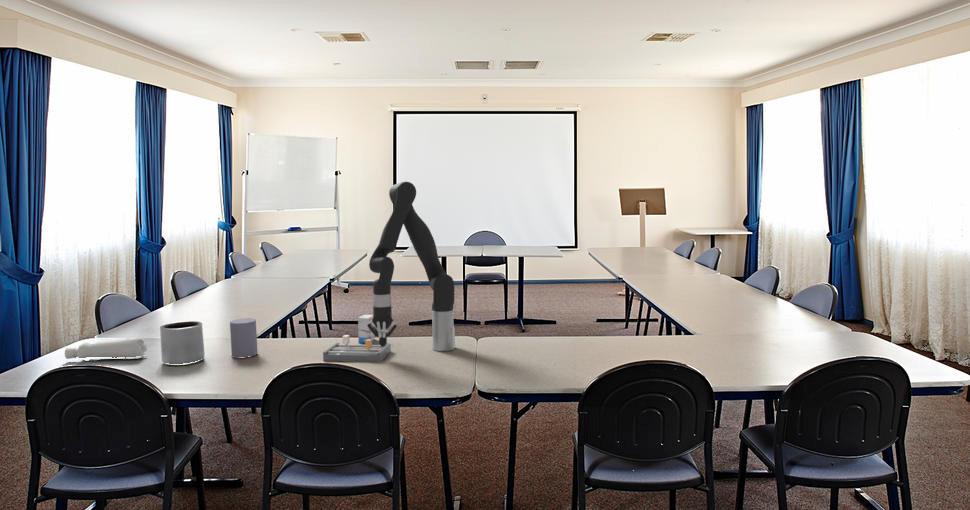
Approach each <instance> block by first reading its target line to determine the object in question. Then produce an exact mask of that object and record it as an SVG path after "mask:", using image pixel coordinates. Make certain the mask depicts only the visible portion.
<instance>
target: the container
mask: <svg viewBox="0 0 970 510" xmlns="http://www.w3.org/2000/svg"><path fill="white" fill-rule="evenodd" d="M229 330H230V332H229V333H230V346H231V357H232V356H234V357H248V356H253V355H255V356H257V355H258V354H257V353H259V352H258V351H259V350H258V337H257V318H256V319H255V318H239V319H232V320H230V321H229ZM256 354H257V355H256ZM253 357H254V356H253Z"/></svg>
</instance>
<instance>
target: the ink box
mask: <svg viewBox="0 0 970 510" xmlns="http://www.w3.org/2000/svg"><path fill="white" fill-rule="evenodd" d="M372 319H373V314H363V315H360V316H358V319H357V320H358V321H357V323H358V324H357V325H358V326H357V327H358V344H365V341H366V340H367V339H372V342H373V341H374V340H375V339H376V338H375V337H376V336H375V335H374V334H373V333H372V331H371V330H370V329H369V328H368V326H367V325H368V324H369V323H371V322H372ZM374 327H375V328H376V326H375V325H374Z"/></svg>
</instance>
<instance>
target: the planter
mask: <svg viewBox="0 0 970 510" xmlns="http://www.w3.org/2000/svg"><path fill="white" fill-rule="evenodd" d="M159 332H160V334H159V335H160V349H161V350H160V352H161V353H160V355H161V363H162V362H164V363H169V364H183V363H190V362H195V361H198V360H201V359H203V358H204V359H205V342H204V330H203V323H202V322H201V321H198V320H197V321H196V320H185V321H174V322H169V323H165V324H162V325H161V326H160V327H159ZM204 359H203V360H204ZM201 361H202V360H201ZM164 363H163V364H164Z"/></svg>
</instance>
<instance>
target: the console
mask: <svg viewBox="0 0 970 510" xmlns="http://www.w3.org/2000/svg"><path fill="white" fill-rule="evenodd" d="M391 352H392V351H391V343H387V344H386V345H385V347H381V345H379V344H372V347H371V348H370V352H367V349H365V344H348V347H345V344H340V342H336V343H335V344H333V345H331V346H330V347H328V348H326V350H325V351H323V352H322V359H323V361H325V362H326V361H328V362H373V363H374V362H375V363H376V362H382V361H383V360H384V359H385V358H386V357H387V356H388V355H389V354H390V353H391Z"/></svg>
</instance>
